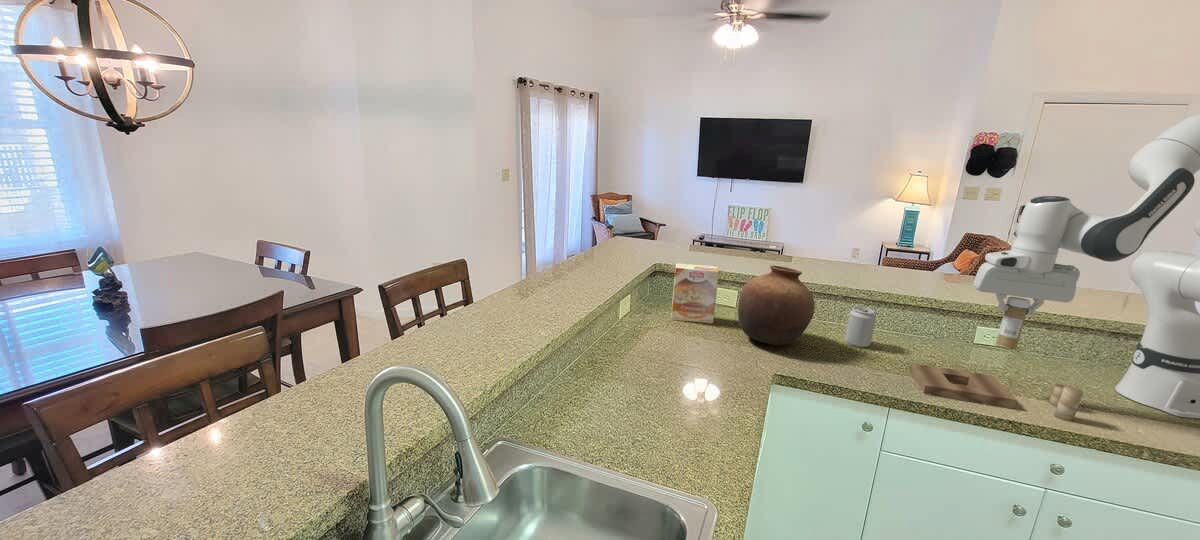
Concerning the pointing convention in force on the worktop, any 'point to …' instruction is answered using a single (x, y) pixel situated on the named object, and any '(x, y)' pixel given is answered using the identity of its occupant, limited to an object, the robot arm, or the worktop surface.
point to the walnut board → (976, 390)
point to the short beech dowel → (1056, 394)
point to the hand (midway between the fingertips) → (1015, 312)
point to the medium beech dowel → (1068, 403)
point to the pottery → (775, 307)
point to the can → (860, 327)
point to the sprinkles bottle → (1012, 323)
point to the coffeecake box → (694, 293)
